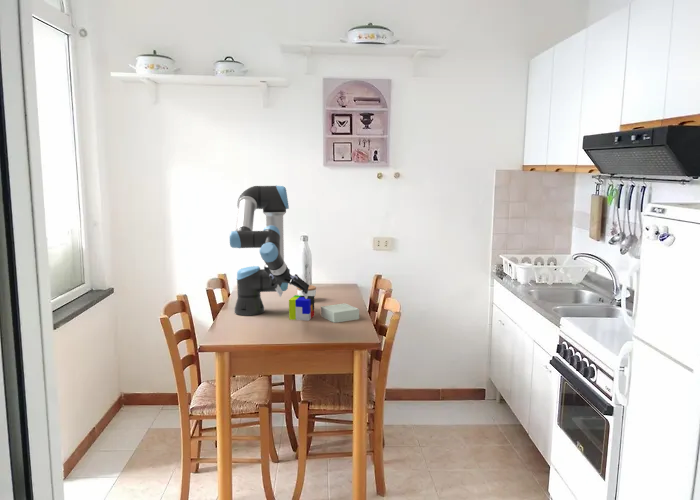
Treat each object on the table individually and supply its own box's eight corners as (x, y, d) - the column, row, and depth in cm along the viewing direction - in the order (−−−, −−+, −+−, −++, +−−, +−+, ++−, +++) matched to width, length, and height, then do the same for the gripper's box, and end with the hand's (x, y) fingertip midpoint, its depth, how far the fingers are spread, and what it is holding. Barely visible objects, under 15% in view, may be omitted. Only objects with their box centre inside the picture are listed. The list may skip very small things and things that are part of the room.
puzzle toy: (308, 320, 268) (308, 300, 266) (289, 319, 270) (288, 299, 268) (314, 315, 277) (314, 296, 276) (295, 314, 279) (295, 295, 278)
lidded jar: (313, 297, 317) (313, 281, 315) (318, 301, 307) (318, 285, 305) (295, 299, 313) (295, 282, 312) (299, 303, 303) (299, 286, 302)
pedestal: (320, 316, 275) (320, 306, 275) (345, 312, 282) (345, 303, 282) (334, 322, 263) (334, 312, 263) (359, 319, 270) (359, 309, 270)
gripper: (251, 274, 249) (268, 299, 265) (301, 277, 241) (315, 303, 257) (257, 261, 253) (273, 286, 269) (306, 264, 245) (320, 290, 261)
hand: (294, 295), depth 263 cm, fingers open, 13 cm apart
